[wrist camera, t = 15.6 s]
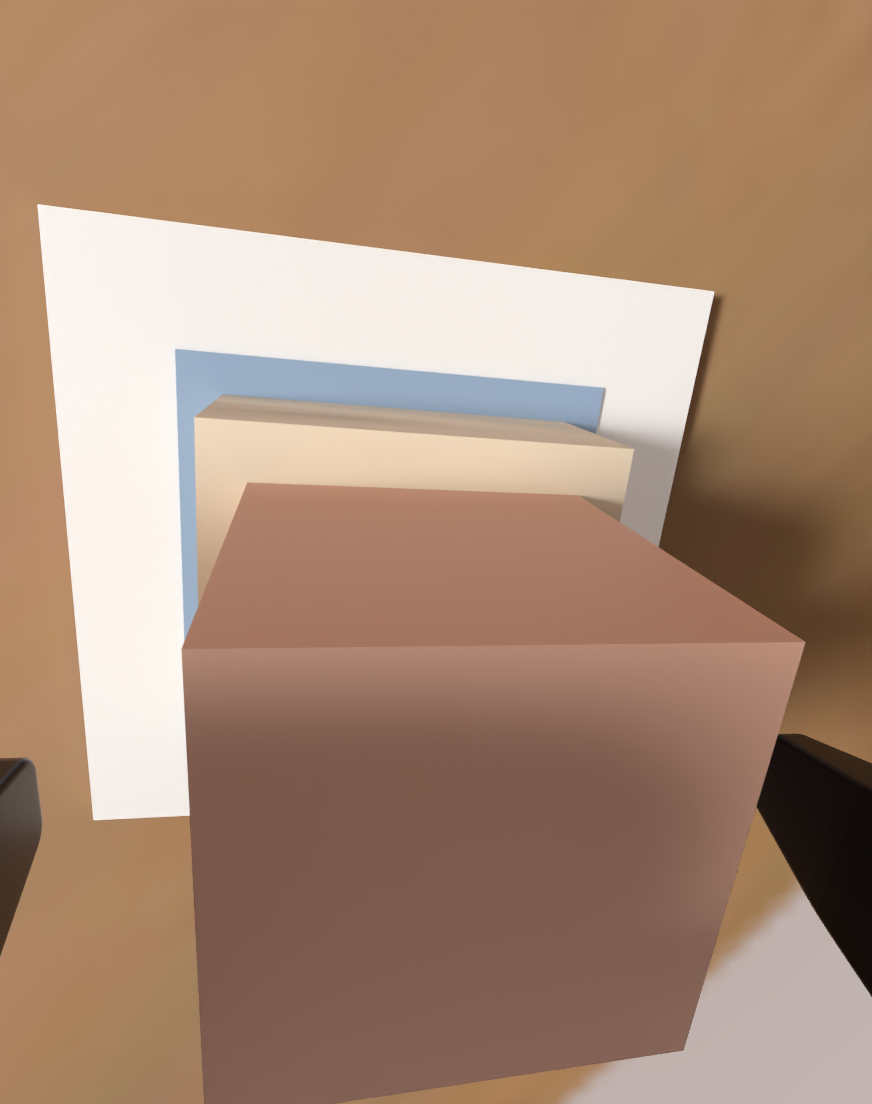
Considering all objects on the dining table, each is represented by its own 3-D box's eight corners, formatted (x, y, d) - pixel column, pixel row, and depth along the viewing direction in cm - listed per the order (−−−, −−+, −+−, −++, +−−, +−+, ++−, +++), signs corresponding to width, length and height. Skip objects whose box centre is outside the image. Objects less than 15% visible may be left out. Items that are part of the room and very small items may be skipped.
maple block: (518, 704, 15) (566, 792, 12) (224, 708, 13) (203, 809, 11) (563, 421, 13) (634, 448, 10) (222, 394, 11) (194, 417, 9)
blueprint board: (595, 782, 17) (605, 797, 16) (100, 803, 14) (91, 823, 14) (699, 292, 13) (717, 291, 12) (49, 210, 11) (35, 203, 10)
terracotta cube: (535, 761, 12) (683, 1050, 7) (250, 775, 11) (205, 1122, 6) (577, 494, 10) (805, 641, 5) (246, 482, 9) (181, 648, 4)
